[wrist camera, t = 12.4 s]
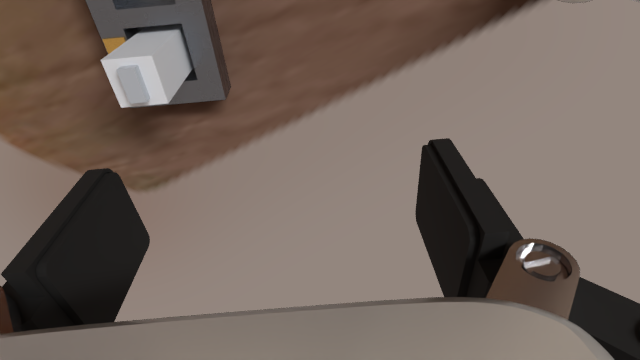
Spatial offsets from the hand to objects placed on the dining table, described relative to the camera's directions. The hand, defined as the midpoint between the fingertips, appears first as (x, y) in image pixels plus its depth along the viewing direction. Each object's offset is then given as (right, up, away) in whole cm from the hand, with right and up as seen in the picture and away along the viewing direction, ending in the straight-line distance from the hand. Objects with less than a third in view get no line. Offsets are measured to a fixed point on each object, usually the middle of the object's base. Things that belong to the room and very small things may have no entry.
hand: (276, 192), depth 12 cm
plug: (-14, +14, +26) cm, 33 cm away
